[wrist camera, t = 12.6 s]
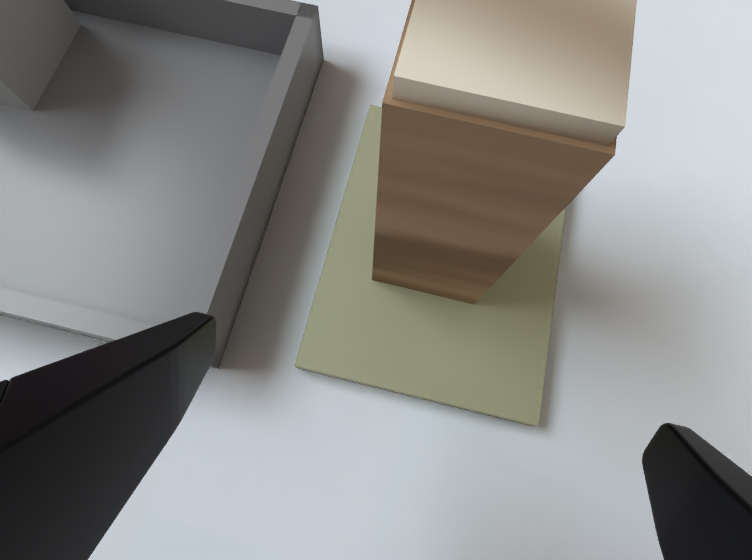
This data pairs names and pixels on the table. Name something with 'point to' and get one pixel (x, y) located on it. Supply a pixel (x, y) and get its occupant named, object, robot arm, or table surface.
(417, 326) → the olive board
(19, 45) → the grey box
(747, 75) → the table surface
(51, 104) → the tray
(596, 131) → the walnut box
